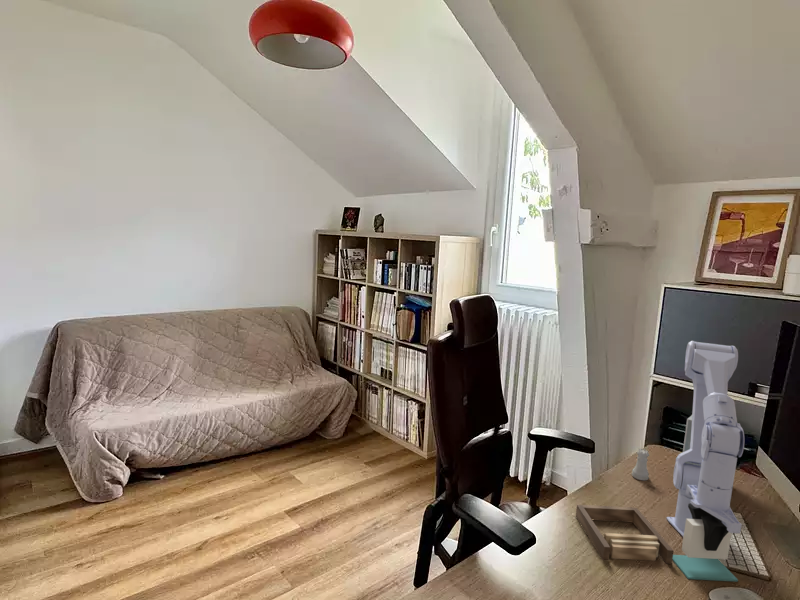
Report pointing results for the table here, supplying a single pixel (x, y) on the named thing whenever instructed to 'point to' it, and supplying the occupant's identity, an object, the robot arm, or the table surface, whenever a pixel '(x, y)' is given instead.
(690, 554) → the off-white rectangular block
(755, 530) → the table surface
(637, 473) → the rook chess piece
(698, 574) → the teal mat
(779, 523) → the table surface
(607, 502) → the table surface
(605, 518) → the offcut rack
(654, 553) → the offcut stack
